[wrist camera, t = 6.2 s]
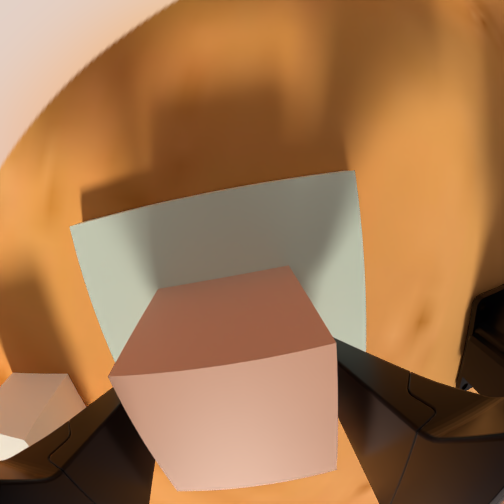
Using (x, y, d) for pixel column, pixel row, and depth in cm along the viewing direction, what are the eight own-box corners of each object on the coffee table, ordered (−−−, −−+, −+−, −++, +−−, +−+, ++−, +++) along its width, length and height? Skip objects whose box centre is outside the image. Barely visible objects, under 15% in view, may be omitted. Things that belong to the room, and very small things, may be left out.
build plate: (344, 170, 10) (354, 170, 9) (356, 388, 13) (363, 400, 12) (81, 222, 10) (69, 226, 9) (155, 421, 13) (152, 435, 12)
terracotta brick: (288, 265, 10) (336, 342, 5) (302, 371, 11) (336, 469, 6) (158, 288, 10) (108, 376, 5) (191, 389, 11) (177, 491, 6)
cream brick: (68, 372, 12) (23, 439, 7) (104, 434, 13) (79, 501, 8) (13, 371, 12) (-31, 424, 7) (48, 429, 13) (19, 483, 8)
